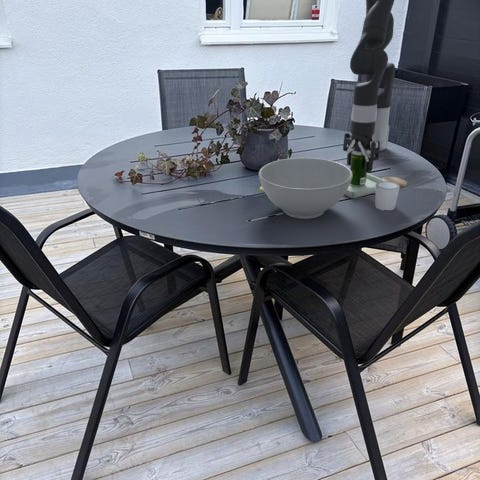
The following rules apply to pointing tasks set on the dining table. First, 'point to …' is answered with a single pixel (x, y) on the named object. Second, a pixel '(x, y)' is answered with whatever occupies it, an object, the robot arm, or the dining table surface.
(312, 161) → the decorative bowl
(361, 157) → the beer can
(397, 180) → the oak coaster
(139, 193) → the dining table surface
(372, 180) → the tray
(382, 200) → the white cup
